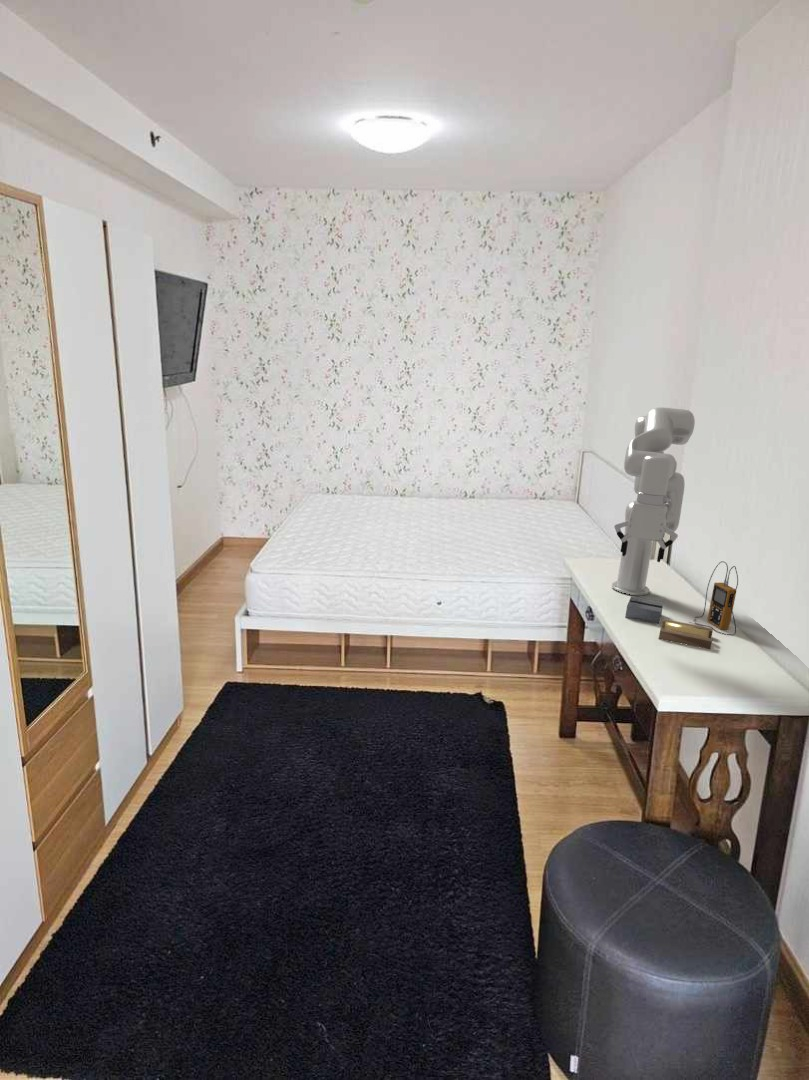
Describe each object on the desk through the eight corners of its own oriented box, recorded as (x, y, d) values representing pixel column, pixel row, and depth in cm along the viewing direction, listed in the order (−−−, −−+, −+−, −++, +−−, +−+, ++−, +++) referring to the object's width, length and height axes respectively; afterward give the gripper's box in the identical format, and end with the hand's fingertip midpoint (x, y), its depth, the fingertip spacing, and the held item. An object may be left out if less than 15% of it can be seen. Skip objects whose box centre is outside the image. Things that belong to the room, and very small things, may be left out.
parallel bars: (661, 626, 220) (663, 618, 219) (711, 636, 214) (712, 628, 214) (658, 638, 209) (660, 630, 209) (710, 649, 204) (712, 641, 204)
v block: (629, 608, 234) (631, 596, 233) (661, 614, 230) (663, 602, 229) (625, 617, 225) (627, 605, 224) (658, 624, 221) (660, 612, 220)
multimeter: (679, 617, 229) (690, 556, 223) (707, 617, 231) (719, 557, 226) (707, 635, 215) (719, 571, 210) (736, 635, 217) (749, 572, 212)
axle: (663, 636, 212) (665, 624, 211) (664, 631, 216) (666, 619, 214) (706, 645, 208) (709, 633, 207) (707, 640, 211) (709, 627, 210)
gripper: (684, 502, 203) (673, 560, 208) (621, 493, 210) (612, 550, 214) (682, 506, 197) (671, 566, 201) (617, 496, 203) (608, 555, 208)
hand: (641, 558), depth 208 cm, fingers open, 9 cm apart
